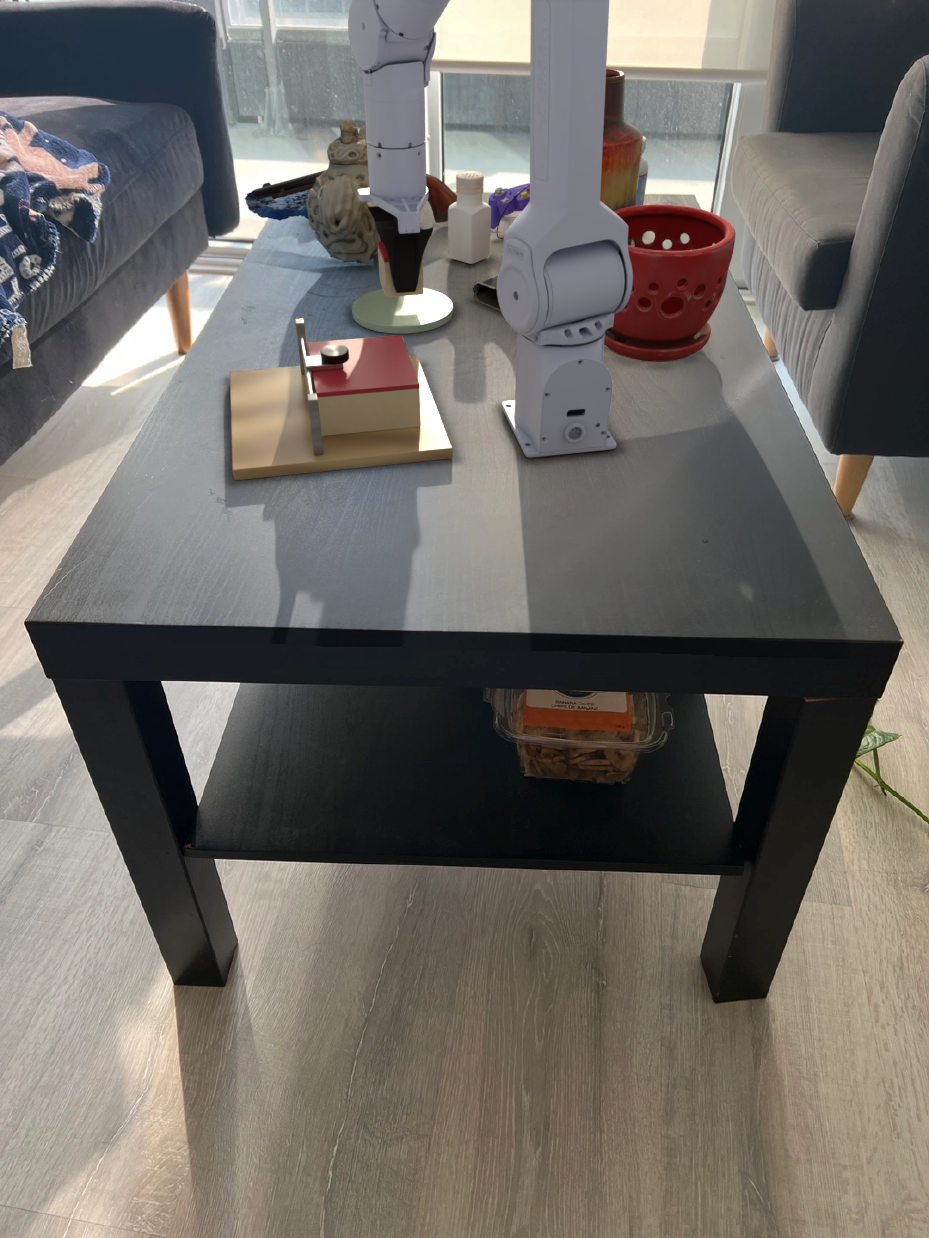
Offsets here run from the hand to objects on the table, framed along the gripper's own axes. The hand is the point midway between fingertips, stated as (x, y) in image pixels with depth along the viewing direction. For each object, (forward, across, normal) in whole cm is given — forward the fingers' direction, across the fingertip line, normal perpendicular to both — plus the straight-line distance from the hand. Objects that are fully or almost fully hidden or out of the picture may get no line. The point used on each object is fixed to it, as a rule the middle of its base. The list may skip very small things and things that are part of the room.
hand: (401, 281), depth 99 cm
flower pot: (+4, +13, +24) cm, 27 cm away
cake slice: (+1, 0, 0) cm, 1 cm away
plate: (+3, 0, 0) cm, 3 cm away
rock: (-3, -39, -4) cm, 39 cm away
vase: (+4, -10, +24) cm, 26 cm away
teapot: (+3, -18, -2) cm, 19 cm away
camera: (+4, +1, +12) cm, 13 cm away
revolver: (+4, -27, 0) cm, 27 cm away
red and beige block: (+2, +22, -7) cm, 23 cm away
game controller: (+4, -24, +19) cm, 31 cm away
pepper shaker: (+4, -15, +10) cm, 19 cm away
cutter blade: (+2, +22, -10) cm, 24 cm away
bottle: (+4, -21, +32) cm, 38 cm away
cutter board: (+3, +22, -10) cm, 24 cm away
